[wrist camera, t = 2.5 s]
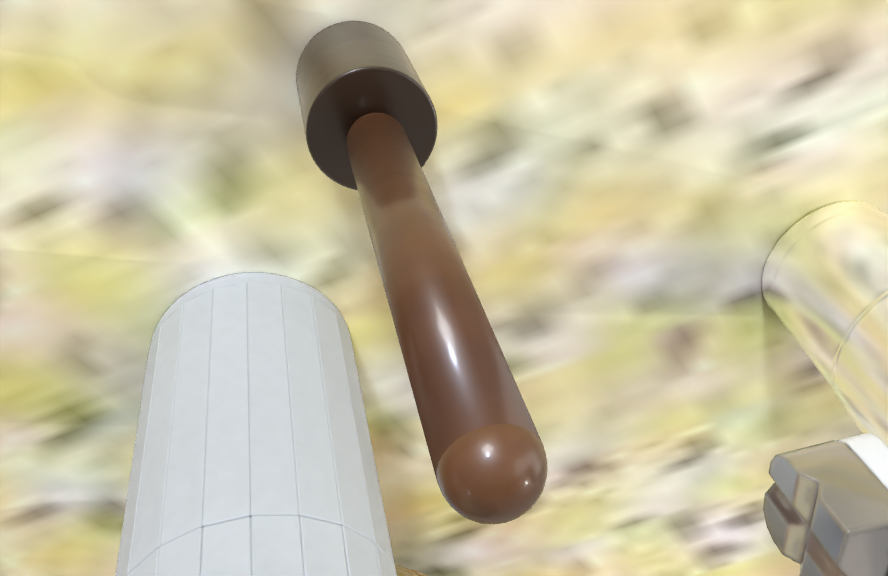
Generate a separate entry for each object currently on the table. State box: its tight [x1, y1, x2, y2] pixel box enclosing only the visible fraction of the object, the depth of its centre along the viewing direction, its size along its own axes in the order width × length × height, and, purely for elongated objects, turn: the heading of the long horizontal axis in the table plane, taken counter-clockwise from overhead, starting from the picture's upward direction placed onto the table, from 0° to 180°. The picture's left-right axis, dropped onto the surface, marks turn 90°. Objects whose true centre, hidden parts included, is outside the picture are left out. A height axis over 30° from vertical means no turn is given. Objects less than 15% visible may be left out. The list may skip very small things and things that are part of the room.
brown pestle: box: [296, 21, 547, 524], centre depth 21 cm, size 4×4×20 cm
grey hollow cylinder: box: [115, 273, 397, 576], centre depth 28 cm, size 8×8×15 cm
